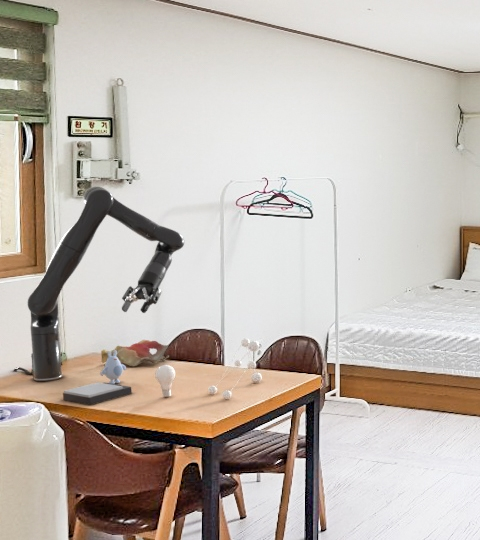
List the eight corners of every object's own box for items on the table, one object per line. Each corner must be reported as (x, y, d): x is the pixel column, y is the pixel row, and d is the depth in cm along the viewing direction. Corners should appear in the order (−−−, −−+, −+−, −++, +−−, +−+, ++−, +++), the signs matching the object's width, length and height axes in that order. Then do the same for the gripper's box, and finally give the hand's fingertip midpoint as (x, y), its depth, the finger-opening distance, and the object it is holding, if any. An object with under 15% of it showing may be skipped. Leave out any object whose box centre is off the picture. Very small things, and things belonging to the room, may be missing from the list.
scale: (63, 400, 291) (62, 390, 291) (104, 389, 305) (104, 380, 304) (90, 405, 284) (89, 395, 284) (131, 393, 298) (131, 384, 298)
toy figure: (107, 387, 307) (104, 354, 305) (95, 385, 310) (93, 352, 309) (132, 381, 316) (130, 348, 314) (121, 379, 319) (119, 347, 318)
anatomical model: (141, 370, 332) (135, 345, 331) (97, 376, 343) (91, 351, 342) (185, 355, 352) (179, 331, 352) (141, 361, 363) (136, 337, 362)
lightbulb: (170, 394, 297) (168, 362, 295) (180, 396, 293) (178, 364, 291) (153, 397, 292) (151, 365, 291) (163, 400, 288) (161, 368, 287)
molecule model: (275, 387, 310) (282, 341, 305) (225, 408, 288) (232, 358, 283) (244, 374, 315) (250, 328, 310) (193, 393, 293) (199, 344, 288)
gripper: (132, 269, 330) (111, 304, 321) (162, 270, 325) (143, 306, 316) (142, 282, 335) (123, 316, 326) (173, 283, 331) (154, 318, 321)
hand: (133, 311), depth 321 cm, fingers open, 8 cm apart
